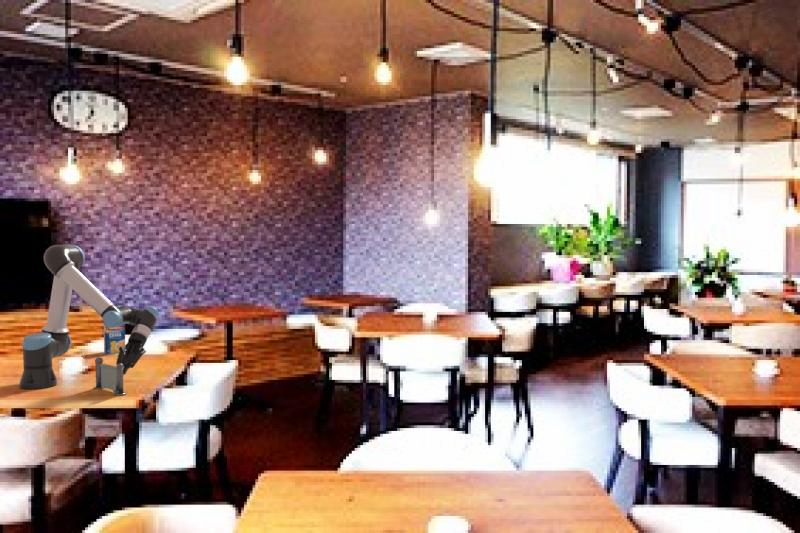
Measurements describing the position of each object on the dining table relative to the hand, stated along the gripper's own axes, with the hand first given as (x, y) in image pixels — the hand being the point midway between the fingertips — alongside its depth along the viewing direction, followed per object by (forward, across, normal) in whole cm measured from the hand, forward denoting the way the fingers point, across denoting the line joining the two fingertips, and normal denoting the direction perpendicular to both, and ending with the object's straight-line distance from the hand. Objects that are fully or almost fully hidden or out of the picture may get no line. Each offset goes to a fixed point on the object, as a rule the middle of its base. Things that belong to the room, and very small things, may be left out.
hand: (117, 379), depth 311 cm
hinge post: (+2, +11, -5) cm, 12 cm away
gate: (+4, +2, -2) cm, 5 cm away
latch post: (+7, -6, 0) cm, 9 cm away
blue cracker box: (-56, +66, -64) cm, 107 cm away
